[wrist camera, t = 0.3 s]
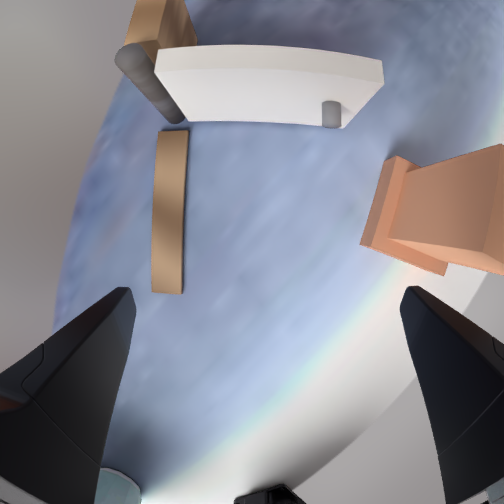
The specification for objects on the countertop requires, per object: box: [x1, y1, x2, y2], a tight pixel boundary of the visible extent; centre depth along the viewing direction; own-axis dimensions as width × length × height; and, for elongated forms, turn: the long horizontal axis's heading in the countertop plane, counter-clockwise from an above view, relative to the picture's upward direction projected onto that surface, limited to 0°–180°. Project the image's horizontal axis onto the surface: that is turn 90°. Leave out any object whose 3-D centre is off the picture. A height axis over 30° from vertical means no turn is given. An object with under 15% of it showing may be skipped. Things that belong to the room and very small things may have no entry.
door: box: [154, 45, 384, 128], centre depth 17 cm, size 12×3×9 cm, turn 88°
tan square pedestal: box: [359, 144, 504, 276], centre depth 16 cm, size 7×7×13 cm
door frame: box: [115, 0, 198, 294], centre depth 17 cm, size 22×2×10 cm, turn 178°
